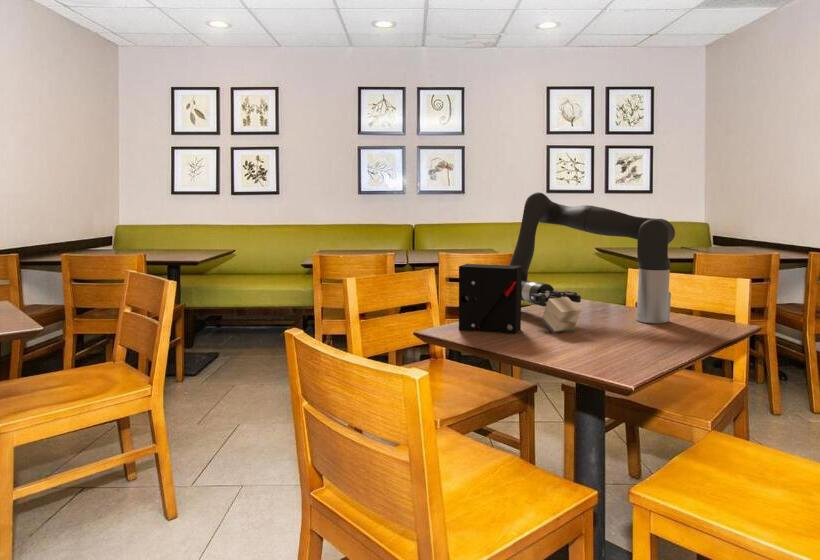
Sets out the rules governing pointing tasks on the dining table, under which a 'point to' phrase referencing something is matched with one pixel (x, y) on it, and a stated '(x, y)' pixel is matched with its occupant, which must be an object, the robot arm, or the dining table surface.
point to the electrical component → (490, 298)
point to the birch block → (561, 315)
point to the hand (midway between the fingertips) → (568, 300)
